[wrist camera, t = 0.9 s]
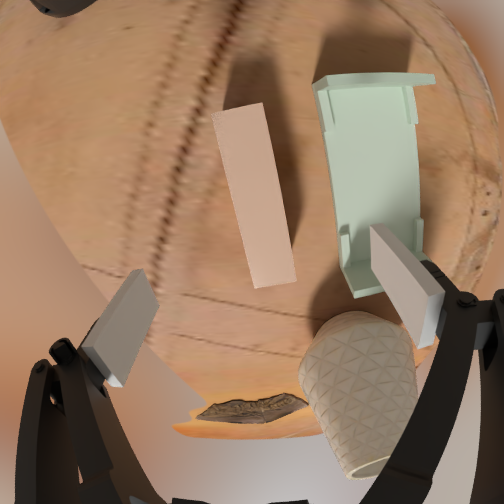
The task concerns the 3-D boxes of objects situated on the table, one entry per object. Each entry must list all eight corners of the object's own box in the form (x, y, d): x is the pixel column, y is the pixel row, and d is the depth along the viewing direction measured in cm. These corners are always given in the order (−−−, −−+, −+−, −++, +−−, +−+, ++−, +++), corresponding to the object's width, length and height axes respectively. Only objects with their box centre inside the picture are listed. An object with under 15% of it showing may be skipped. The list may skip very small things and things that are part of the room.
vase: (409, 335, 42) (458, 444, 21) (328, 382, 47) (346, 493, 27) (370, 270, 36) (444, 411, 16) (271, 334, 42) (275, 478, 21)
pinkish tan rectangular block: (221, 115, 28) (210, 113, 22) (261, 106, 28) (262, 102, 21) (255, 257, 36) (254, 288, 30) (290, 251, 35) (296, 281, 29)
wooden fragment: (304, 388, 49) (304, 392, 48) (311, 413, 53) (312, 417, 52) (183, 402, 53) (182, 405, 52) (203, 425, 57) (203, 428, 56)
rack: (311, 84, 26) (326, 75, 20) (402, 79, 25) (434, 74, 18) (339, 266, 36) (354, 298, 30) (414, 250, 35) (439, 277, 28)
